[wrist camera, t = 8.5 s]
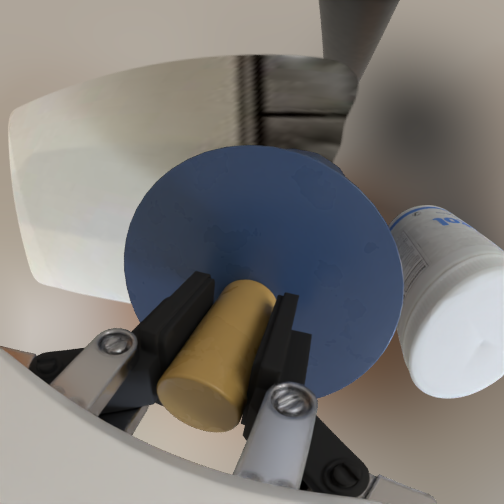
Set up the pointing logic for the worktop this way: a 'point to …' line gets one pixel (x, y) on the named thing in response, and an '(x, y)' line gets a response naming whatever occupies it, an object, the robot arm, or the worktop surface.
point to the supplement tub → (449, 302)
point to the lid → (263, 272)
